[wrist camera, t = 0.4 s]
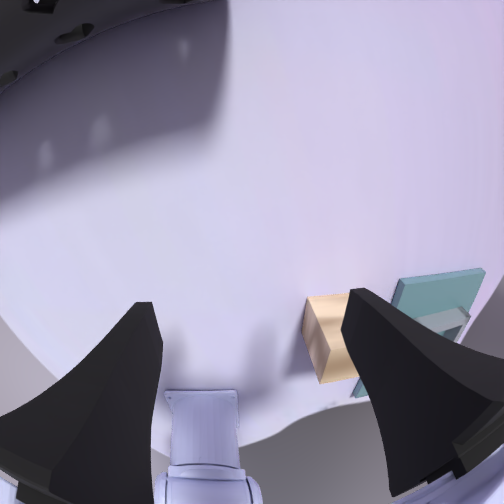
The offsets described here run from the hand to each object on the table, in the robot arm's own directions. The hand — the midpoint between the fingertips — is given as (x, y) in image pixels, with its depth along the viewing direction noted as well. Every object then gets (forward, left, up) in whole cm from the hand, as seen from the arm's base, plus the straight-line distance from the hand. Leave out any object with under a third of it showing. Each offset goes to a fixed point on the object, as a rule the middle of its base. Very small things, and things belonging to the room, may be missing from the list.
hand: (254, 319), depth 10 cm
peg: (-9, -8, -10) cm, 15 cm away
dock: (-15, -22, -10) cm, 28 cm away
